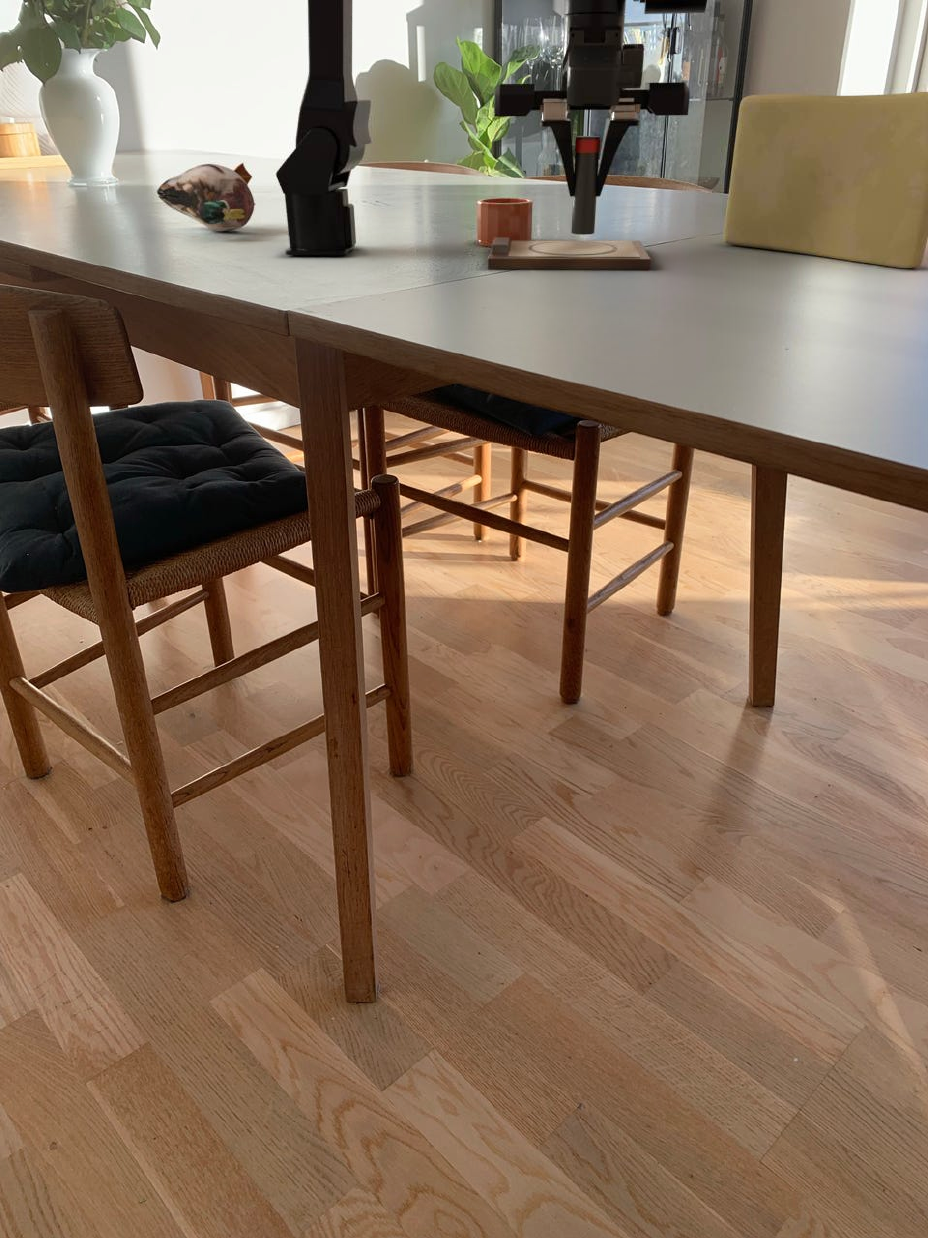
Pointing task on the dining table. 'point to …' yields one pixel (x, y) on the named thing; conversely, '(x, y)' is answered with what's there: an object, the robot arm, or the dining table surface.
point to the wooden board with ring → (568, 255)
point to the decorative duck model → (211, 196)
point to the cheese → (832, 176)
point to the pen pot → (504, 219)
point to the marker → (585, 184)
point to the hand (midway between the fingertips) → (584, 196)
